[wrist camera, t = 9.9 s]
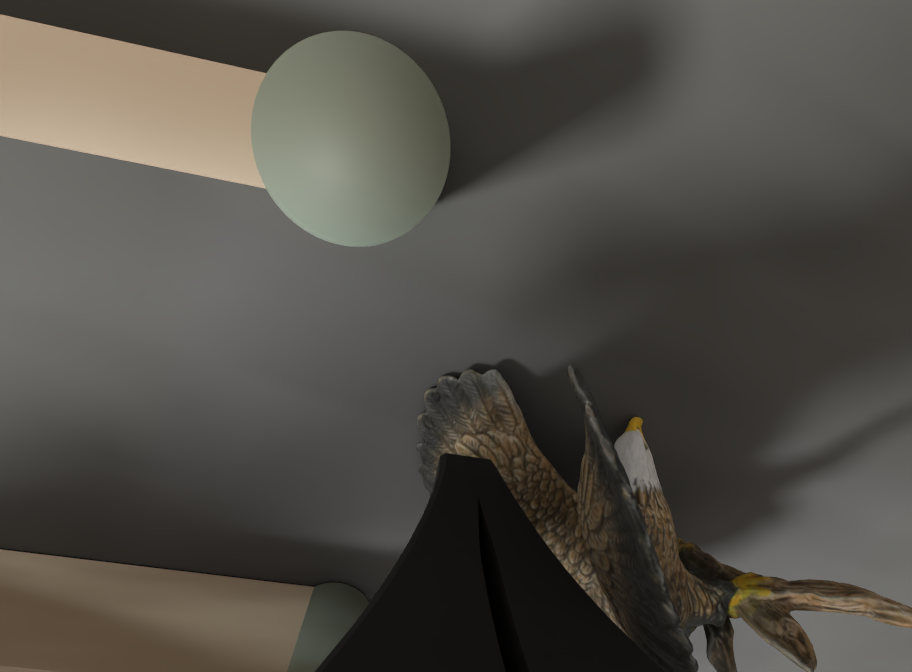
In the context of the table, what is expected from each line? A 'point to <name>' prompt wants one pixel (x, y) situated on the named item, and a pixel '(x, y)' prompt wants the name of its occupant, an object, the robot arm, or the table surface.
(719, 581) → the eagle figurine
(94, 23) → the table surface
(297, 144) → the wooden matchsticks
